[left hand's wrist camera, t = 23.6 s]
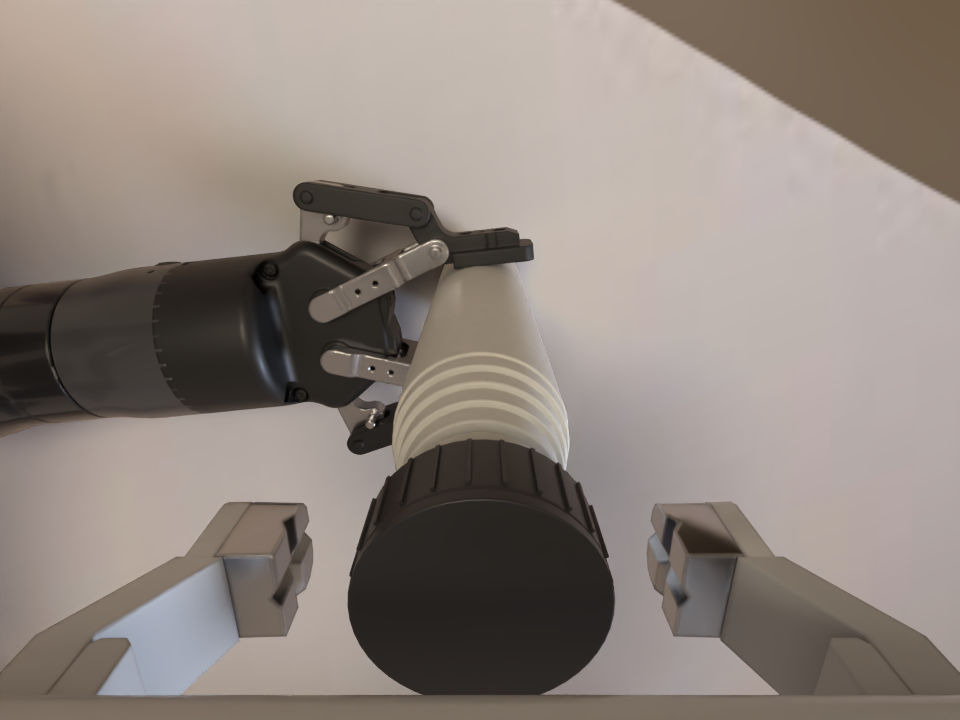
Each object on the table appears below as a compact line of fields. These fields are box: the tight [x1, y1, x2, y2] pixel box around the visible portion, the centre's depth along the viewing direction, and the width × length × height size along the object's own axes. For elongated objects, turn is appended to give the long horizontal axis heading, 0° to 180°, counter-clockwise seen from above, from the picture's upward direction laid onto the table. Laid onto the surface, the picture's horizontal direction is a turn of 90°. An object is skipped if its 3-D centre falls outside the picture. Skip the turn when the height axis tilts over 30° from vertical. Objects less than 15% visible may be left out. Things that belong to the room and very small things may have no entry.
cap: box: [348, 438, 615, 695], centre depth 10 cm, size 4×4×2 cm
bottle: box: [392, 263, 569, 471], centre depth 21 cm, size 5×5×24 cm
